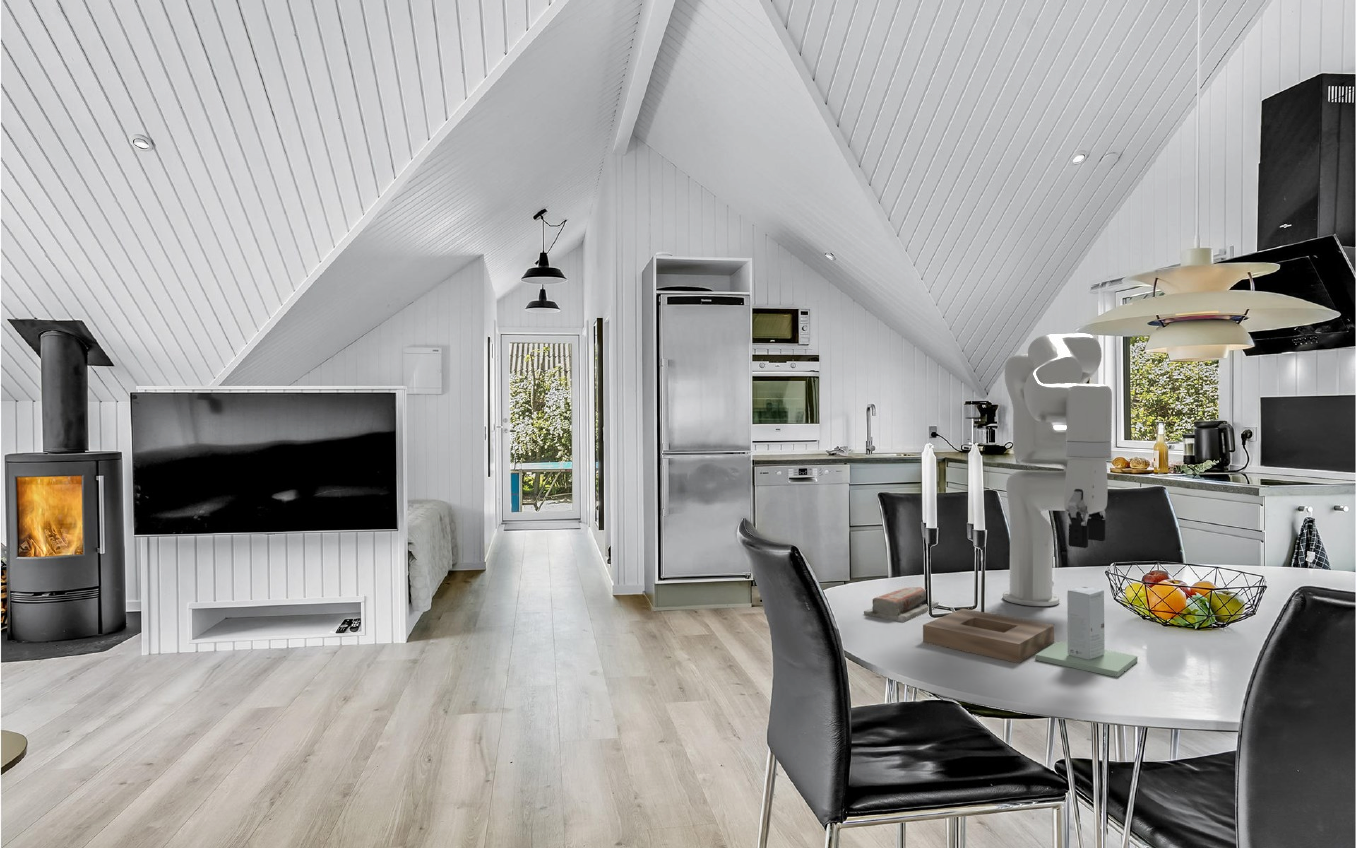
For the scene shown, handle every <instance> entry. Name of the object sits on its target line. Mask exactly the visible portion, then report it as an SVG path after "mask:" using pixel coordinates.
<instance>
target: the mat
mask: <svg viewBox="0 0 1356 848" xmlns="http://www.w3.org/2000/svg"><path fill="white" fill-rule="evenodd" d="M1034 655H1035V657H1034V658H1035V661H1039V662H1044V663H1049V664H1055V665H1059V666H1061V667H1062V666H1063V667H1066V668H1067V667H1068V668H1071V669H1077V670H1082V671H1087V672H1092V673H1094V674H1095V673H1097V674H1099V675H1100V674H1101V675H1106V676H1111V677H1114V676H1115V677H1114V678H1119V677H1120V676H1121V675H1123V674H1124V673H1125V672H1126V671H1127V669H1128V670H1129V669H1130V668H1132V667H1133V666H1134V665H1135V664H1137V662H1138V657H1139V656H1138V655H1134V654H1128V653H1122V652H1118V651H1113V650H1108V649H1105V653H1104V655H1102V656H1099V657H1096V658H1093V659H1090V660H1086V659H1082V658H1078V657H1074V656H1071V655H1068V642H1066V641H1065V642H1064V641H1060V640H1058V641H1056V642H1054V643H1052V644H1050V645H1049V646H1047V647H1045V648H1044V649H1042V650H1040V651H1039V652H1037V653H1035V654H1034ZM1132 665H1133V666H1132ZM1124 671H1125V672H1124ZM1118 676H1119V677H1118Z"/></svg>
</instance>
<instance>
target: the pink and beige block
mask: <svg viewBox="0 0 1356 848" xmlns="http://www.w3.org/2000/svg"><path fill="white" fill-rule="evenodd" d="M926 590H927V589H924V588H923V587H919V586H917V587H904V588H901V589H898V590H894V591H891V592H888V593H885V594H882V595H879V596H877V597H874V598H873V599H872V601H871V602H872V608H870V609H867V610H864V611H863V614H864V616H870V617H876V618H880V619H881V618H882V619H886V620H891V621H897V622H901V623H902V622H903V623H904V622H907V621H909V620H912V619H914V618H916V616H917V617H919V616H922V615H924V614H927V613H928V612H927V611H928V606H927V604H926ZM932 606H933V608H934V606H938V607H939V601H932ZM926 612H927V613H926ZM921 614H922V615H921ZM911 618H912V619H911Z"/></svg>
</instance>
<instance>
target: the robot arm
mask: <svg viewBox="0 0 1356 848" xmlns="http://www.w3.org/2000/svg"><path fill="white" fill-rule="evenodd" d="M1101 361H1102V348H1101V345H1100V342H1099V340H1097V338H1096V337H1094V336H1093V335H1091V334H1088V333H1066V334H1065V333H1063V334H1061V333H1060V334H1059V333H1058V334H1056V333H1055V334H1046V335H1041V336H1039V337H1036V338H1035V339H1034V340H1033V341H1032V342H1030V344H1029V346H1028V349H1027V353H1021V354H1016V355H1012V356H1011V357H1009V358H1008V359H1007V360H1006V362H1005V365H1004V382H1005V385H1006V388H1007V390H1006V391H1007V392H1008V395H1009V398H1010V401H1011V404H1012V410H1013V411H1012V412H1013V414H1012V417H1013V418H1012V447H1013V449H1012V450H1013V455H1014V458H1015V460H1016V461H1017V462H1018V463H1020V464H1024V465H1033V466H1036V465H1037V466H1061V467H1062V469H1063V470H1040V469H1039V470H1035V469H1034V470H1032V469H1029V470H1028V469H1027V470H1019V471H1015V472H1013V473H1011V474H1010V475H1009V477H1008V478H1007V480H1006V482H1005V483H1006V485H1005V487H1006V496H1007V503H1008V510H1009V512H1008V513H1009V590H1007V591H1005V592H1002V599H1003V600H1005V601H1006V602H1009V603H1012V604H1016V605H1022V606H1029V607H1052V606H1057V605H1058V604H1059V603H1060V598H1059V596H1057V595H1056V594H1053V587H1054V586H1055V582H1054V581H1053V547H1054V546H1053V545H1054V544H1053V543H1054V541H1053V539H1054V535H1053V534H1054V533H1053V527H1052V525H1051V524H1050V522H1049V521H1048V519H1046V517H1044V515H1043V514H1042V512H1043V511H1059V512H1060V511H1065V512H1066V513H1067V516H1068V520H1067V523H1068V546H1069V547H1074V548H1082V549H1087V548H1088V547H1089V540H1090V541H1098V542H1104V541H1106V517H1107V514H1106V509H1107V507H1108V495H1109V494H1108V493H1109V491H1108V466H1107V465H1108V464H1107V461H1111V460H1112V436H1113V435H1112V434H1113V433H1112V429H1113V428H1112V427H1113V425H1112V424H1113V421H1112V419H1113V415H1112V414H1113V391H1112V389H1111V387H1110V386H1108V385H1106V384H1102V383H1101V384H1096V383H1087V382H1089V380H1090V379H1091V378H1092V376H1093V375H1095V373H1096V372H1097V371H1098V369H1099V367H1100V364H1101ZM1053 423H1065V425H1053Z"/></svg>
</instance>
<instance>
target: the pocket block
mask: <svg viewBox="0 0 1356 848" xmlns="http://www.w3.org/2000/svg"><path fill="white" fill-rule="evenodd" d="M924 642H926V643H925V644H929V643H930V644H929V645H934V646H938V645H939V646H938V647H943V648H947V647H949V648H948V649H953V650H958V651H961V650H962V651H963V652H966V653H970V652H972V654H976V655H980V654H981V655H980V656H984V657H985V656H986V657H989V658H994V659H999V660H1004V661H1007V662H1013V663H1017V664H1021V662H1024V661H1025V660H1027V659H1028V658H1030V657H1032V656H1033V655H1036V654H1037V653H1039V652H1041V651H1042V650H1044V649H1046V648H1047V647H1049V646H1051V645H1052V644H1054V643H1055V625H1054V624H1050V623H1046V622H1038V621H1034V620H1029V619H1023V618H1017V617H1013V616H1007V615H1006V616H1005V615H1001V614H996V613H995V614H994V613H991V612H984V611H977V610H973V609H967V608H959V609H958V610H956V611H953V612H950V613H949V614H946V615H943V616H941V617H939V618H937V619H934V620H931V621H929V622H927V623H925V624H922V643H924Z"/></svg>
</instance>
